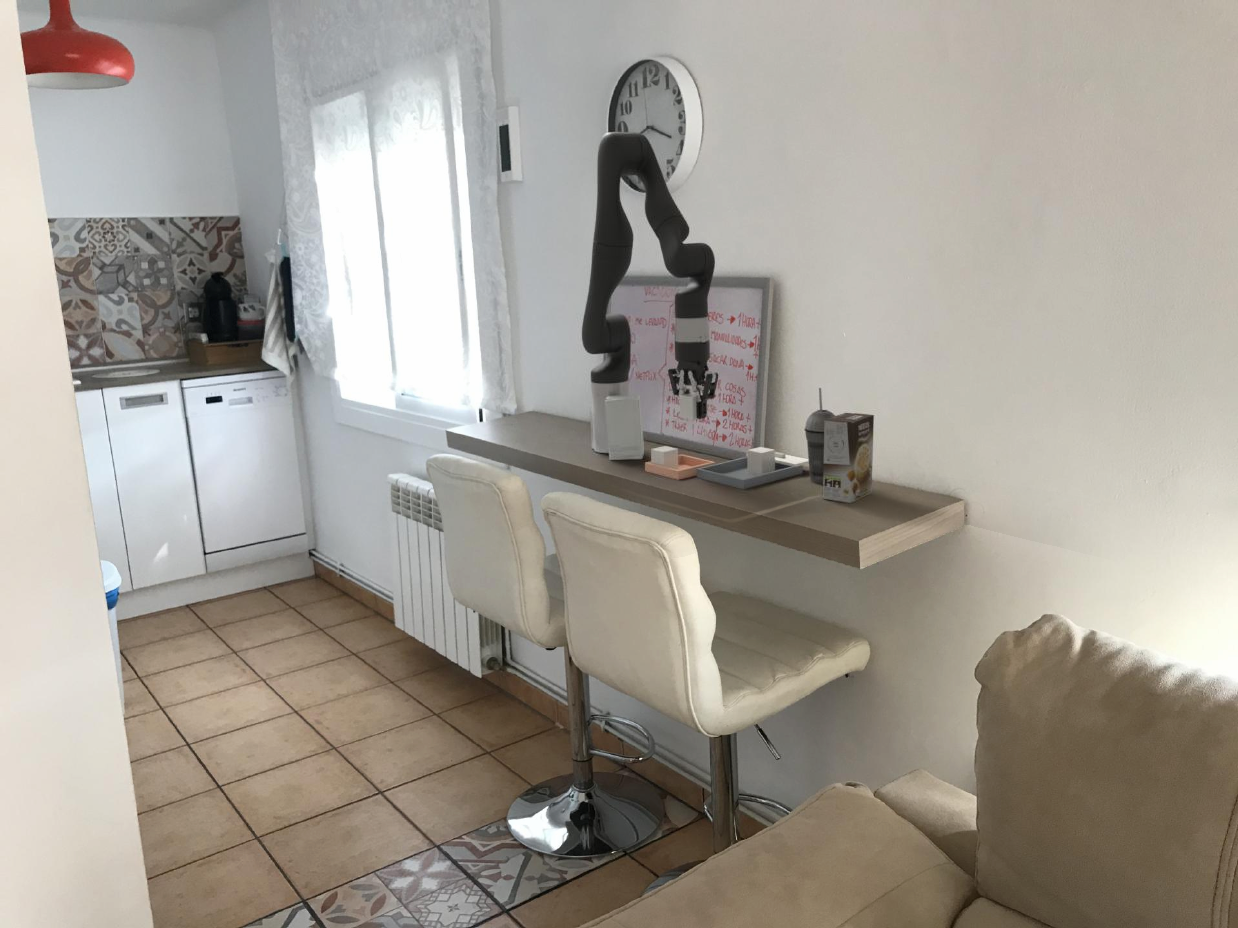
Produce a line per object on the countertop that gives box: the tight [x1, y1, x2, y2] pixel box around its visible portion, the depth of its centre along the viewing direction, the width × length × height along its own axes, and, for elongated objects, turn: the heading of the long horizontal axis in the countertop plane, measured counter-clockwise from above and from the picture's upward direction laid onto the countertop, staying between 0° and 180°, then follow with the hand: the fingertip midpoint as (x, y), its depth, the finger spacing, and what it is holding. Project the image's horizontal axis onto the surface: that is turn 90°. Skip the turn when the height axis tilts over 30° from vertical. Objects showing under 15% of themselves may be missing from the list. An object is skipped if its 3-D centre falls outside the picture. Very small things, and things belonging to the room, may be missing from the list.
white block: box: [650, 445, 679, 470], centre depth 219 cm, size 4×4×5 cm
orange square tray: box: [644, 453, 716, 481], centre depth 219 cm, size 11×11×2 cm
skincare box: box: [605, 393, 645, 461], centre depth 234 cm, size 8×6×15 cm
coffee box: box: [822, 412, 875, 504], centre depth 194 cm, size 9×6×16 cm
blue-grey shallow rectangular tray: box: [696, 451, 809, 490], centre depth 213 cm, size 15×21×4 cm
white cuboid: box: [678, 392, 708, 421], centre depth 215 cm, size 4×4×5 cm
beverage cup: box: [804, 387, 836, 485], centre depth 204 cm, size 7×7×20 cm
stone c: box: [746, 446, 776, 475], centre depth 214 cm, size 4×4×5 cm
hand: (693, 416), depth 216 cm, fingers closed on white cuboid, 4 cm apart
